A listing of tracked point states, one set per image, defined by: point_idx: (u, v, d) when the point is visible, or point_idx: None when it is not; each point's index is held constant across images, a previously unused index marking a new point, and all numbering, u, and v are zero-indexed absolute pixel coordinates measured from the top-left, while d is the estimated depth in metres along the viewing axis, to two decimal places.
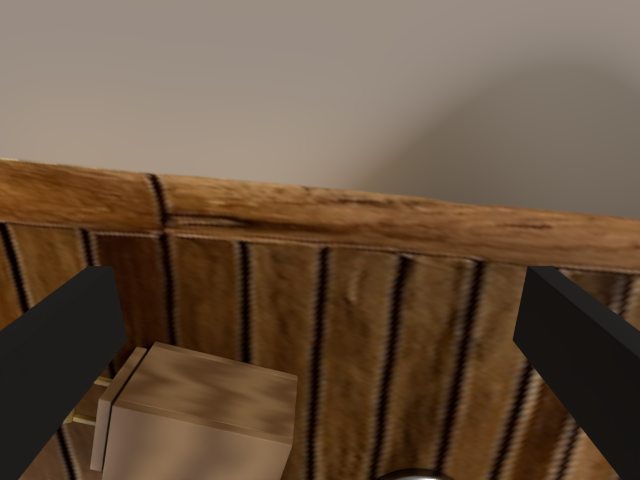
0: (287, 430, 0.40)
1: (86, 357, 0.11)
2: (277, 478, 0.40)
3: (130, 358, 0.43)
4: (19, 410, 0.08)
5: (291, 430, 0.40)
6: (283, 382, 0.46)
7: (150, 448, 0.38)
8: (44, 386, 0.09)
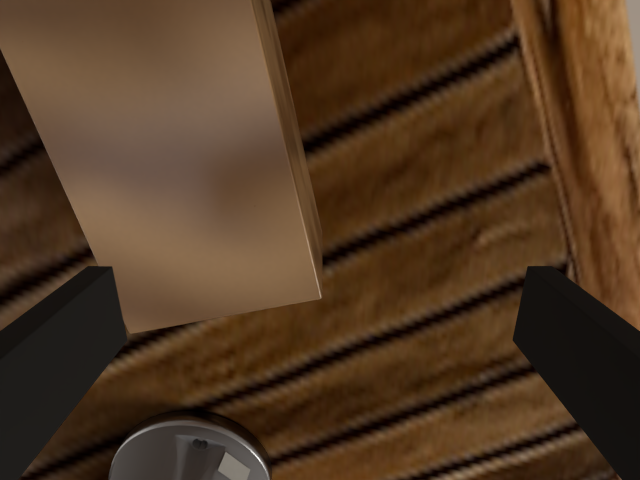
0: (320, 274, 0.22)
1: (86, 357, 0.11)
2: (234, 310, 0.21)
3: None
4: (19, 410, 0.08)
5: (321, 279, 0.22)
6: (317, 220, 0.28)
7: (155, 41, 0.16)
8: (44, 386, 0.09)
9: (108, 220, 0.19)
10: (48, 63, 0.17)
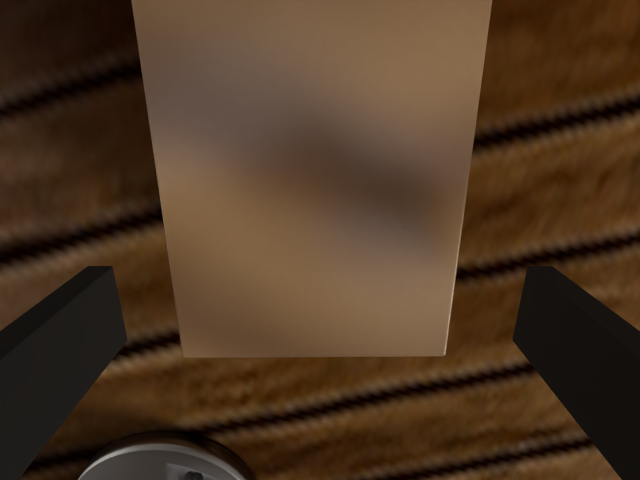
0: None
1: (86, 357, 0.11)
2: (330, 351, 0.16)
3: None
4: (19, 410, 0.08)
5: None
6: None
7: None
8: (44, 386, 0.09)
9: (202, 207, 0.14)
10: None
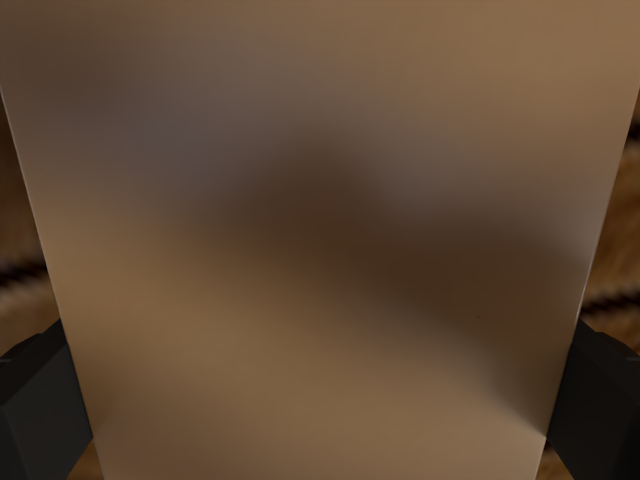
0: None
1: None
2: None
3: None
4: None
5: None
6: None
7: None
8: None
9: (122, 283, 0.08)
10: None
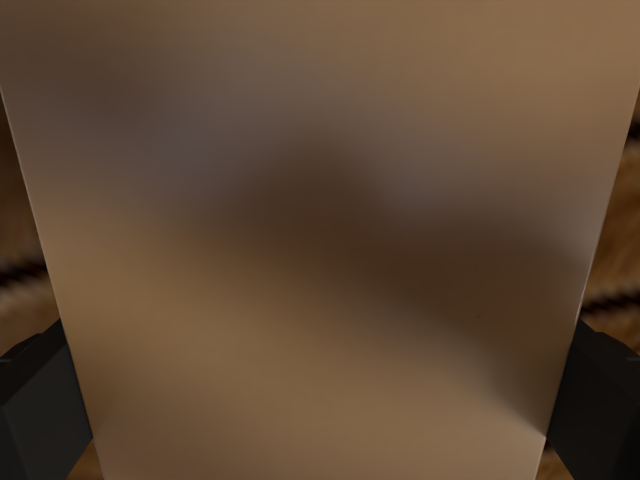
0: None
1: None
2: None
3: None
4: None
5: None
6: None
7: None
8: None
9: (122, 283, 0.08)
10: None
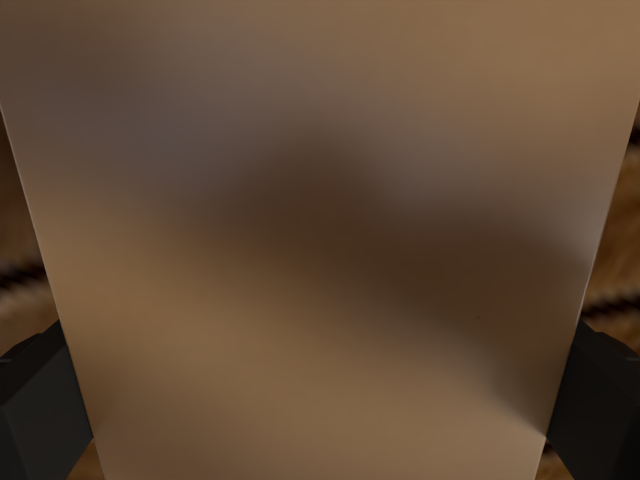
0: None
1: None
2: None
3: None
4: None
5: None
6: None
7: None
8: None
9: (121, 285, 0.08)
10: None
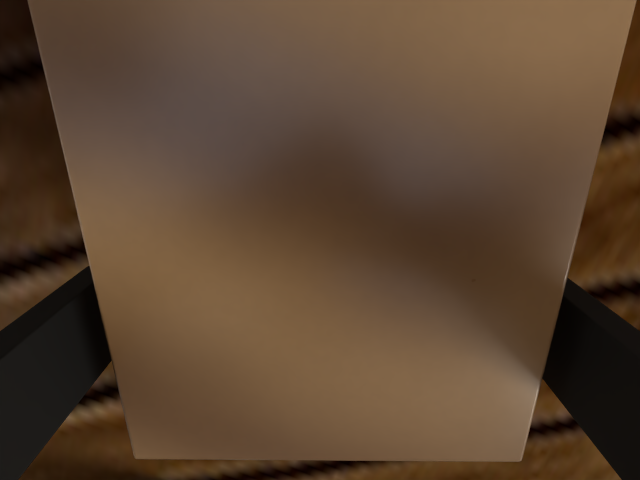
0: None
1: (86, 357, 0.11)
2: (351, 454, 0.11)
3: None
4: (19, 410, 0.08)
5: None
6: None
7: None
8: (44, 386, 0.09)
9: (149, 248, 0.09)
10: None
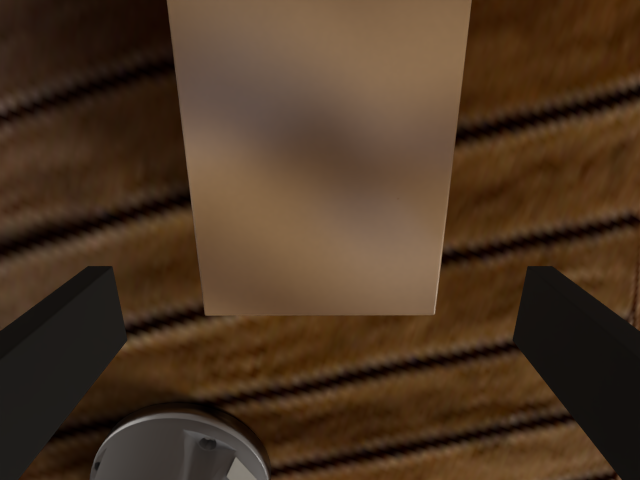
0: None
1: (86, 357, 0.11)
2: (334, 310, 0.18)
3: None
4: (19, 410, 0.08)
5: None
6: None
7: None
8: (44, 386, 0.09)
9: (223, 181, 0.16)
10: None
